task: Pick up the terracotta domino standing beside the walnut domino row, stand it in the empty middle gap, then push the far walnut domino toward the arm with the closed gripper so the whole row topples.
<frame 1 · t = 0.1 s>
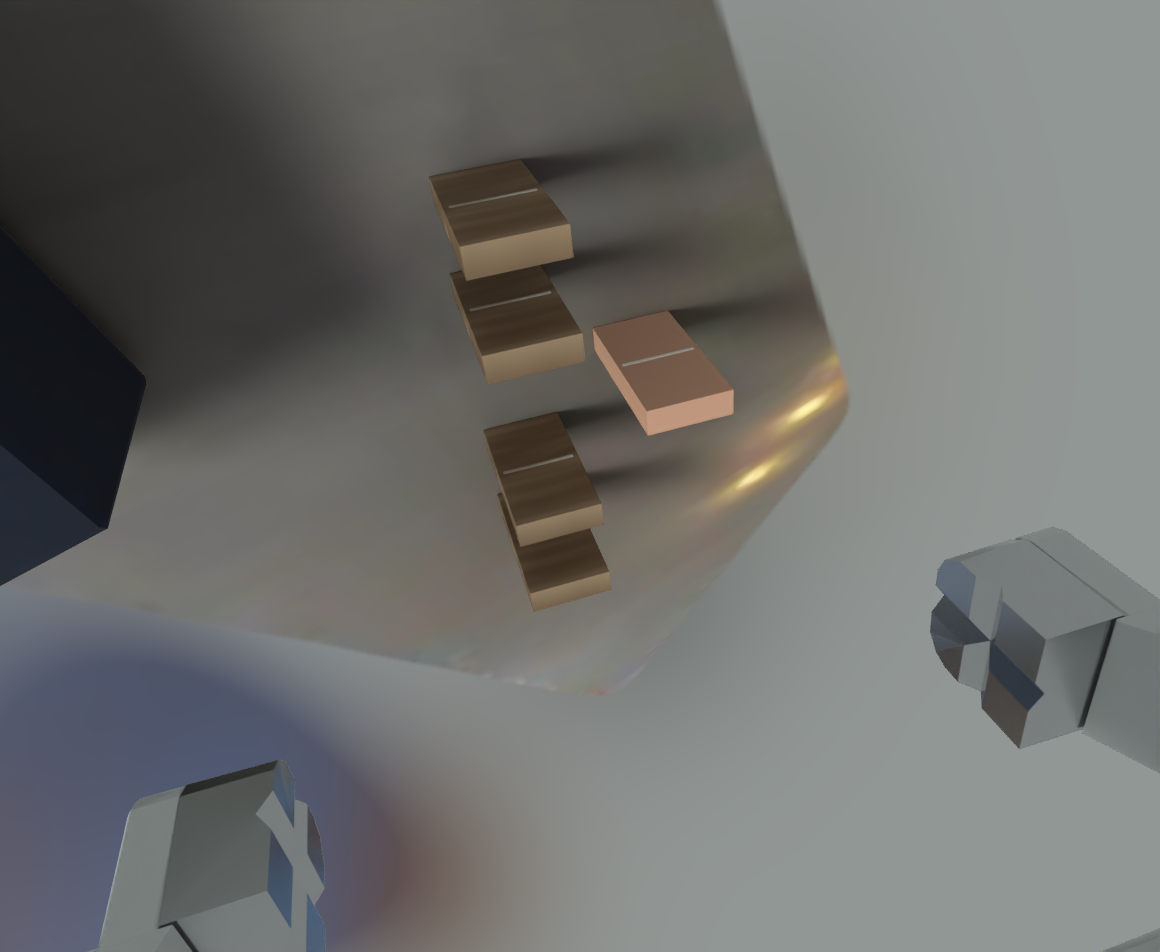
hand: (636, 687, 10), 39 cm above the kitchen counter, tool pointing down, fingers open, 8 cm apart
domino 5: (477, 182, 45), on the kitchen counter
domino 1: (533, 493, 58), on the kitchen counter
domino 4: (494, 277, 48), on the kitchen counter
domino 2: (522, 430, 55), on the kitchen counter
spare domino: (631, 330, 53), on the kitchen counter
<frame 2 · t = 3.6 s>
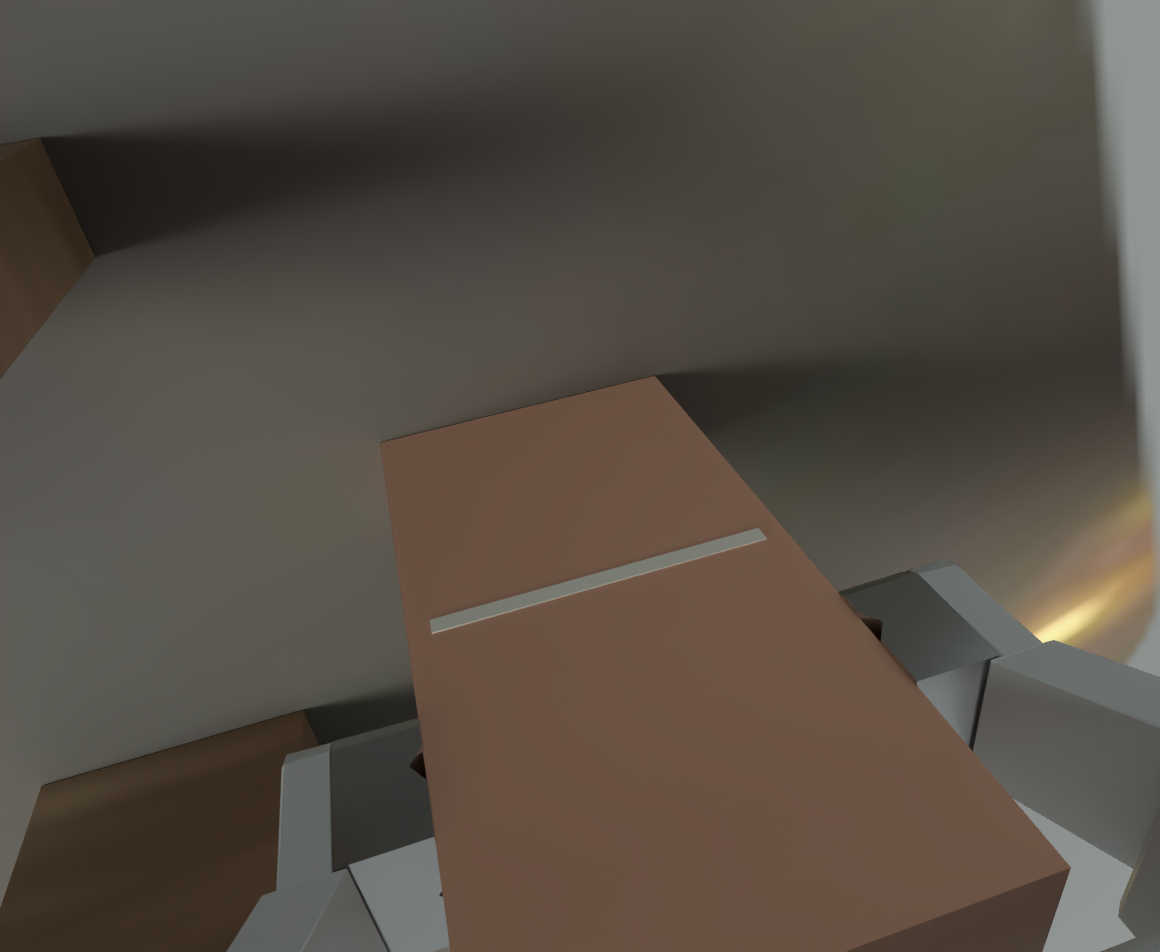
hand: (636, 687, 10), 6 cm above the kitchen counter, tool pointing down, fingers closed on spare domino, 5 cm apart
domino 2: (190, 772, 17), on the kitchen counter
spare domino: (528, 446, 15), on the kitchen counter, touching gripper
when the fingers open (7 cm above the kitchen counter, at t = 8.9 s): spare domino stays where it is, on the kitchen counter.
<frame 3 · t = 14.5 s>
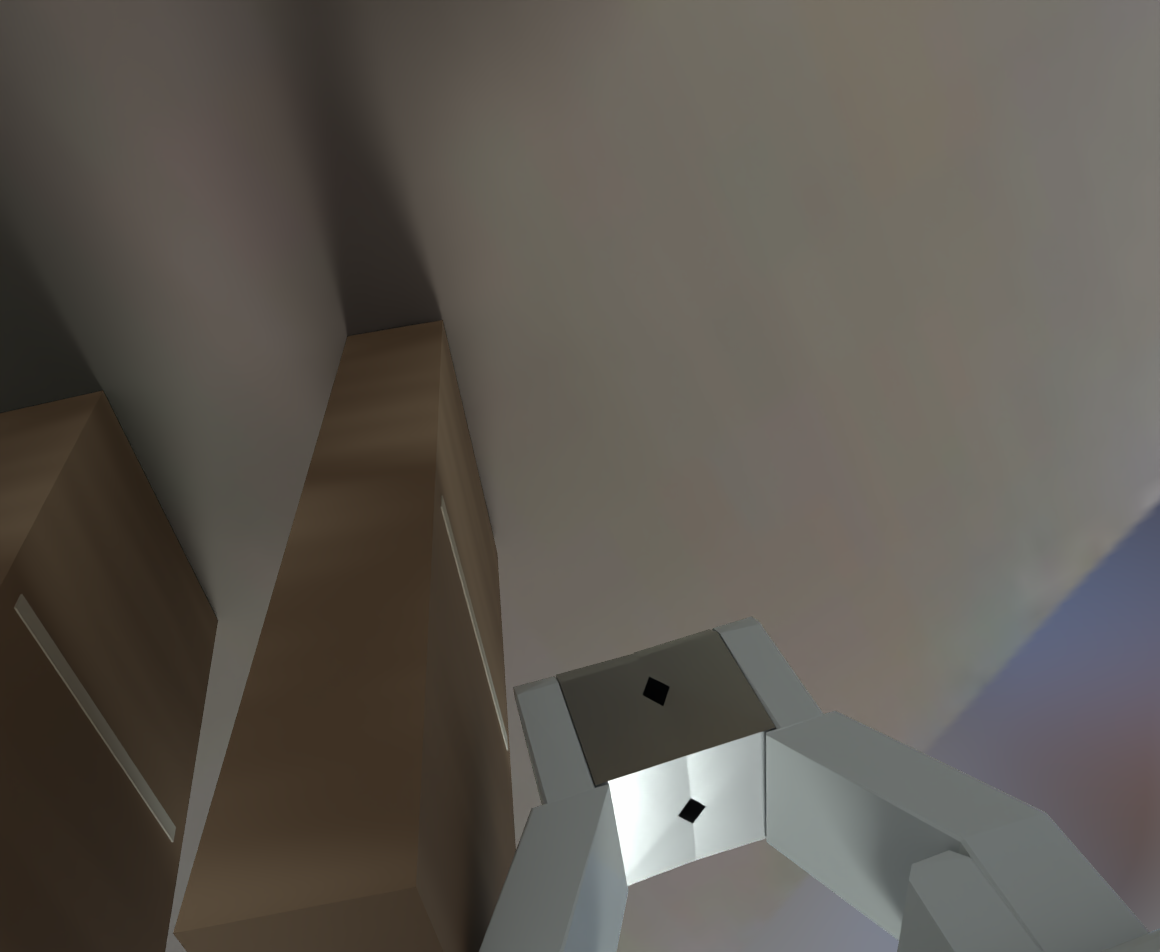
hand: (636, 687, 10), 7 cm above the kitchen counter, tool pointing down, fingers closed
domino 1: (429, 454, 15), on the kitchen counter, tilted 8°, touching gripper
domino 2: (118, 527, 14), on the kitchen counter
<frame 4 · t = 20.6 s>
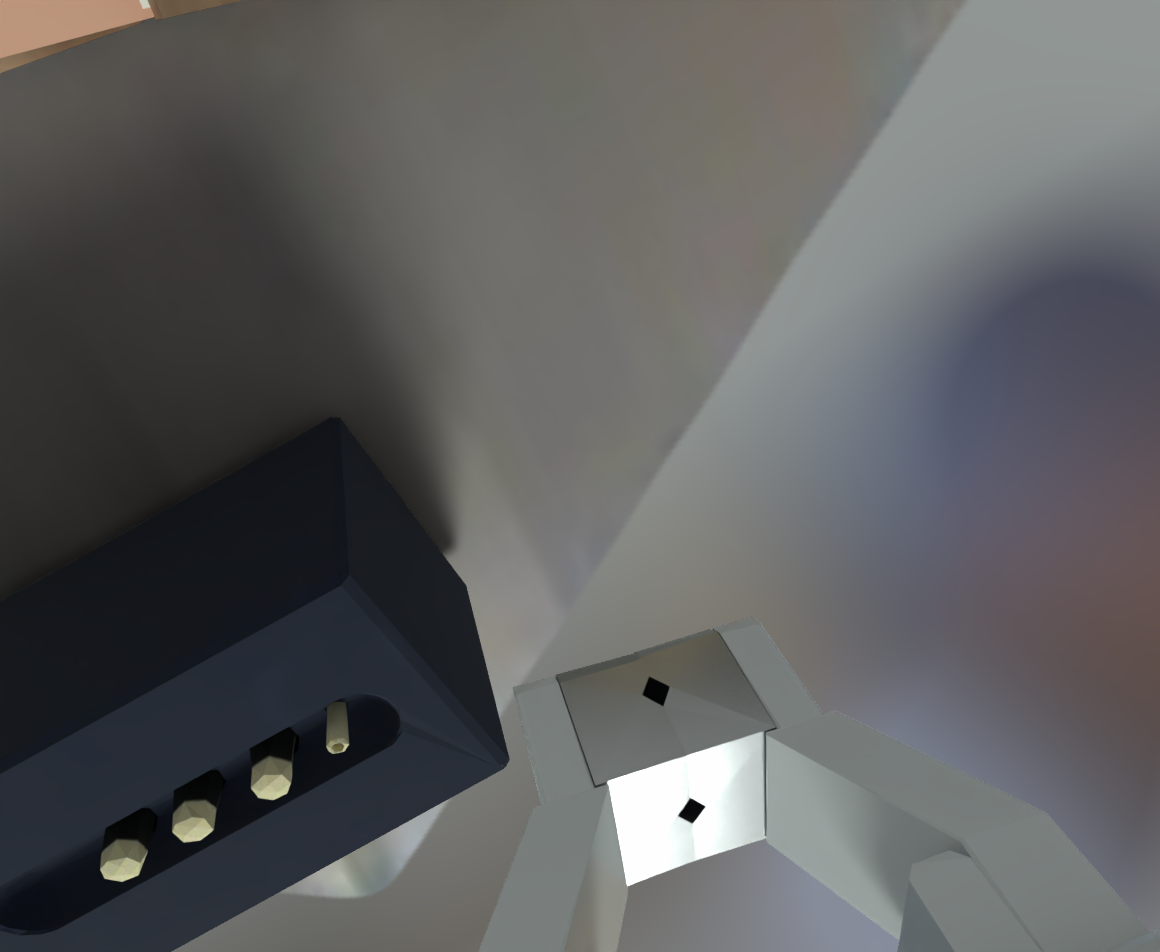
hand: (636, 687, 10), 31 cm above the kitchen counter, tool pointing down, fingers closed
speaker: (227, 588, 44), on the kitchen counter
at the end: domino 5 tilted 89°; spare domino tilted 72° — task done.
